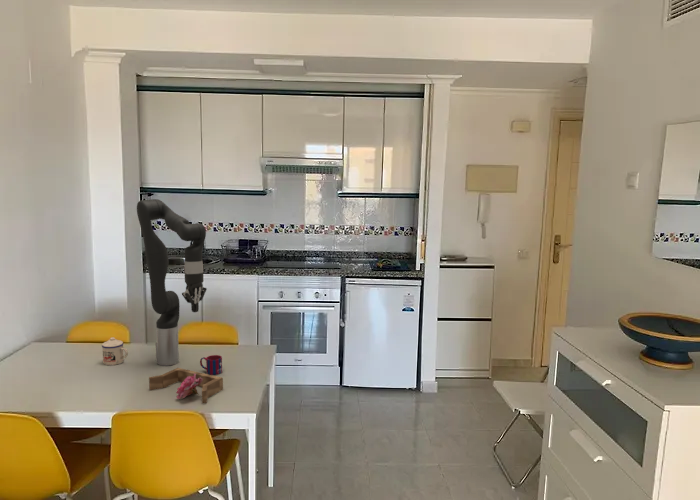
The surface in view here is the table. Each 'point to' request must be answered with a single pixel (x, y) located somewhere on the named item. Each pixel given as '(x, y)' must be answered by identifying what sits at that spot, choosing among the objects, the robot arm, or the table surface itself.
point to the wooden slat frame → (208, 384)
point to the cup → (213, 364)
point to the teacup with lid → (113, 352)
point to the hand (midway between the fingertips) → (195, 311)
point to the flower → (188, 386)
